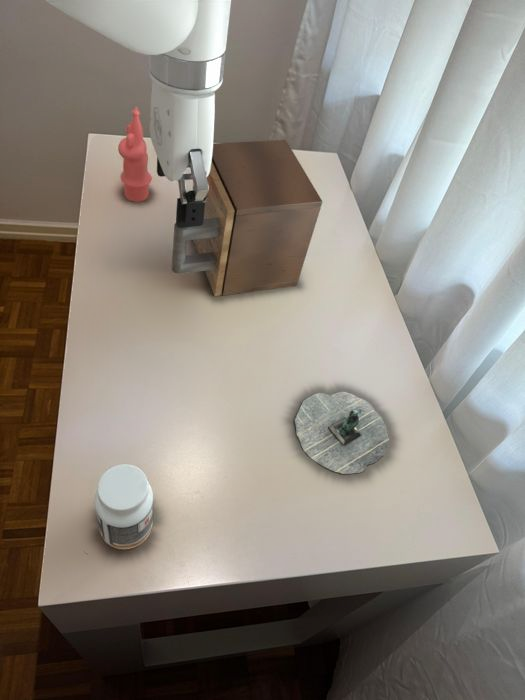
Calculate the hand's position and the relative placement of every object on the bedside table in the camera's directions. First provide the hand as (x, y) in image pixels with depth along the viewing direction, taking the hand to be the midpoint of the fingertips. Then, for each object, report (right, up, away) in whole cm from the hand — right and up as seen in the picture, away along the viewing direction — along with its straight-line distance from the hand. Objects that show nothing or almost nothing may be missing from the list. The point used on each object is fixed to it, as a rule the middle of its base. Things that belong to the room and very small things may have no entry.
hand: (179, 199), depth 71 cm
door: (-1, -6, +16) cm, 17 cm away
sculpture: (+20, -29, +3) cm, 36 cm away
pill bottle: (-4, -37, -9) cm, 39 cm away
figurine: (-11, +7, +24) cm, 27 cm away
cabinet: (+8, -4, +19) cm, 21 cm away
